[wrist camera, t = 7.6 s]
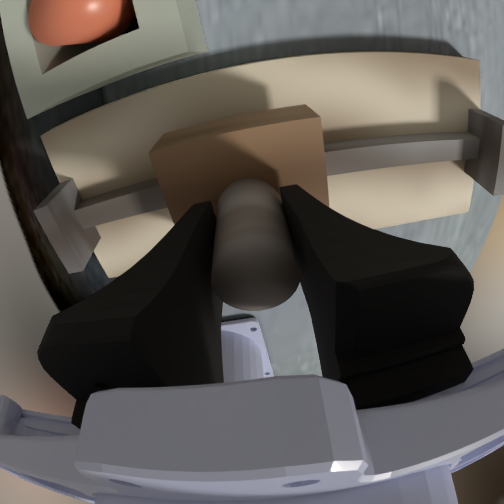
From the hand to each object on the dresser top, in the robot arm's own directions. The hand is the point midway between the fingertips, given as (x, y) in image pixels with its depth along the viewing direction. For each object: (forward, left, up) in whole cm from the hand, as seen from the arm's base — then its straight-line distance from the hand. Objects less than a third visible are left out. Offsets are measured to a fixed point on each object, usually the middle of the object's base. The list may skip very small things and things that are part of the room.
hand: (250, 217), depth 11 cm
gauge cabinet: (+9, +4, -6) cm, 12 cm away
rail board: (0, -2, -6) cm, 6 cm away
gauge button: (+9, +4, -2) cm, 10 cm away
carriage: (0, 0, -3) cm, 3 cm away
